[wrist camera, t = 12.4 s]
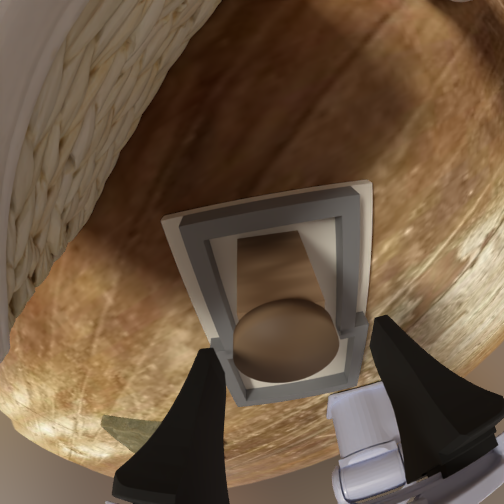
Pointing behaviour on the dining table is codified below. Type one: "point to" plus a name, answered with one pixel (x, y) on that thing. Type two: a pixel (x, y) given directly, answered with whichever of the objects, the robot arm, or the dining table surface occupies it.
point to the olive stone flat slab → (129, 430)
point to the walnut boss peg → (280, 311)
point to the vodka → (460, 0)
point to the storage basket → (71, 118)
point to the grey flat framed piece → (322, 260)
